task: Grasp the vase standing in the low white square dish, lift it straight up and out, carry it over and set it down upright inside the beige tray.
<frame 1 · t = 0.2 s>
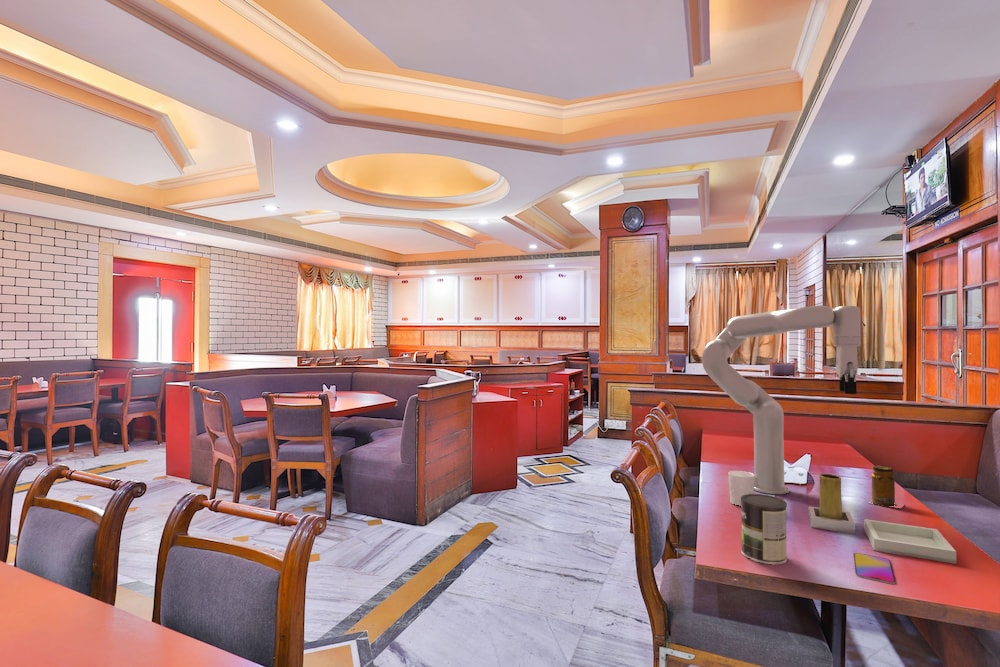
hand: (847, 392, 168), 36 cm above the table, tool pointing down, fingers open, 9 cm apart
white square dish: (830, 524, 145), on the table
coffee can: (764, 556, 125), on the table
white cup: (741, 504, 164), on the table
condiment: (886, 505, 163), on the table
smartphone: (873, 570, 118), on the table
beige tray: (906, 545, 131), on the table
vase: (830, 525, 145), resting in white square dish
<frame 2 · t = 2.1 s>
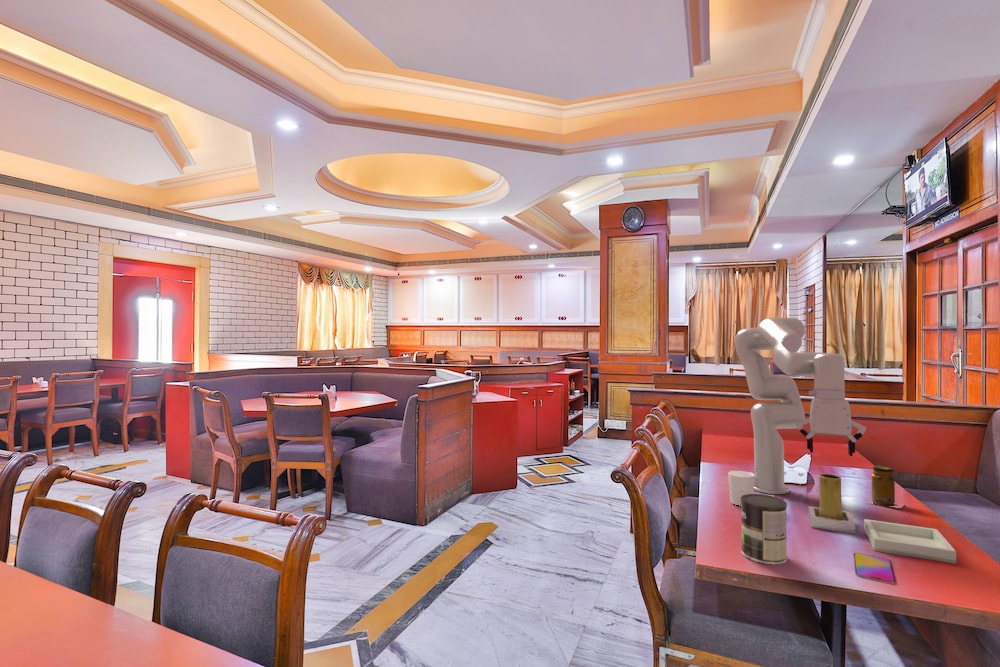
hand: (830, 453, 145), 21 cm above the table, tool pointing down, fingers open, 9 cm apart
nothing on the table moved.
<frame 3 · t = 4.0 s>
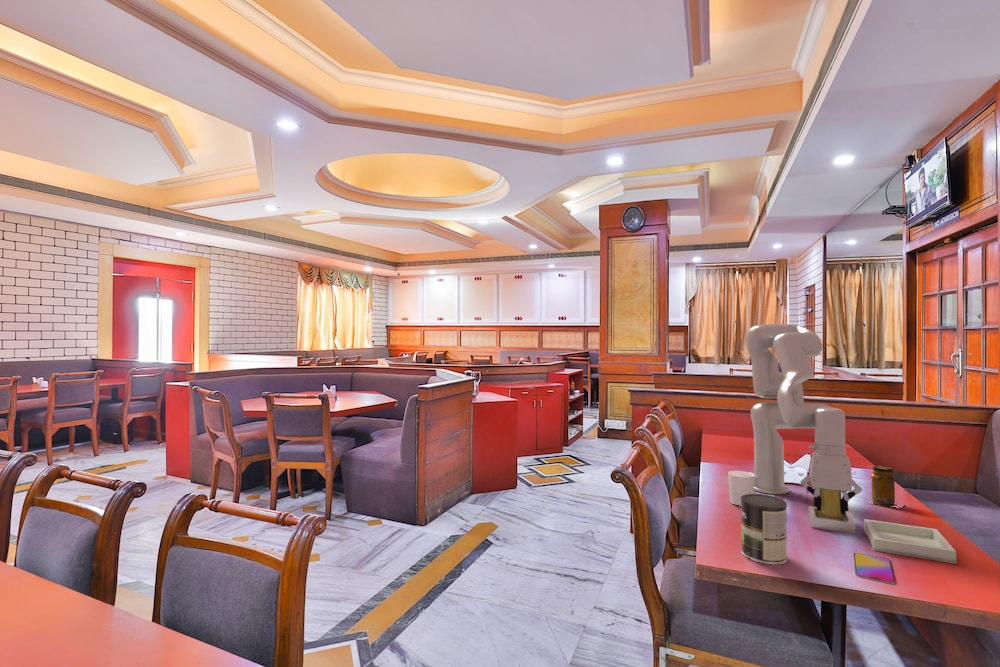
hand: (830, 510, 145), 4 cm above the table, tool pointing down, fingers closed on vase, 5 cm apart
vase: (830, 525, 145), resting in white square dish, touching gripper
everything else where it was.
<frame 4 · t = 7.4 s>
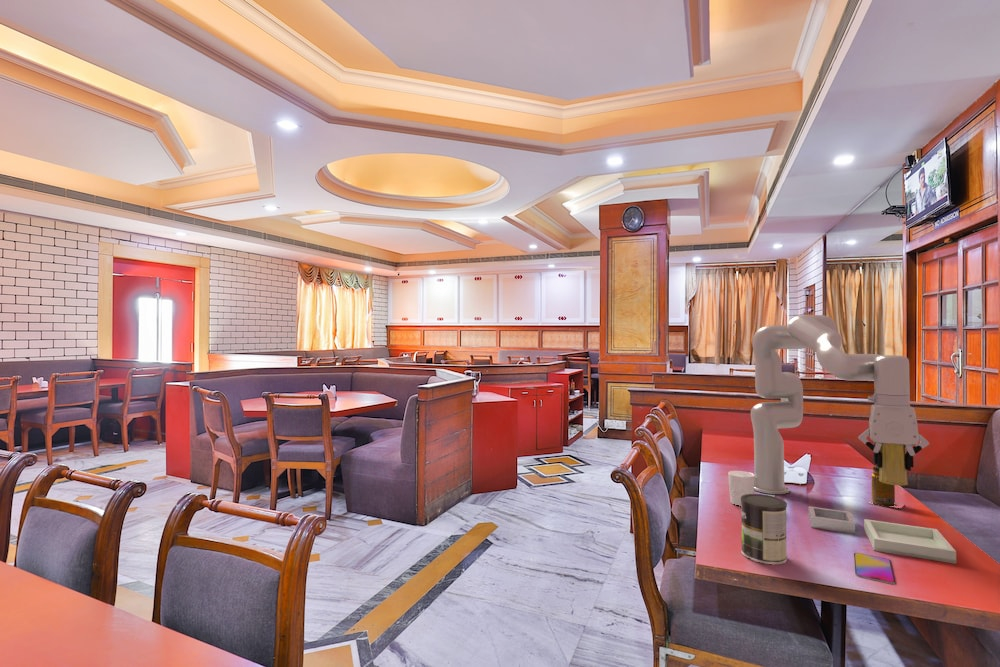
hand: (893, 467, 133), 20 cm above the table, tool pointing down, fingers closed on vase, 5 cm apart
vase: (893, 483, 133), point 16 cm above the table, touching gripper
everything else where it was.
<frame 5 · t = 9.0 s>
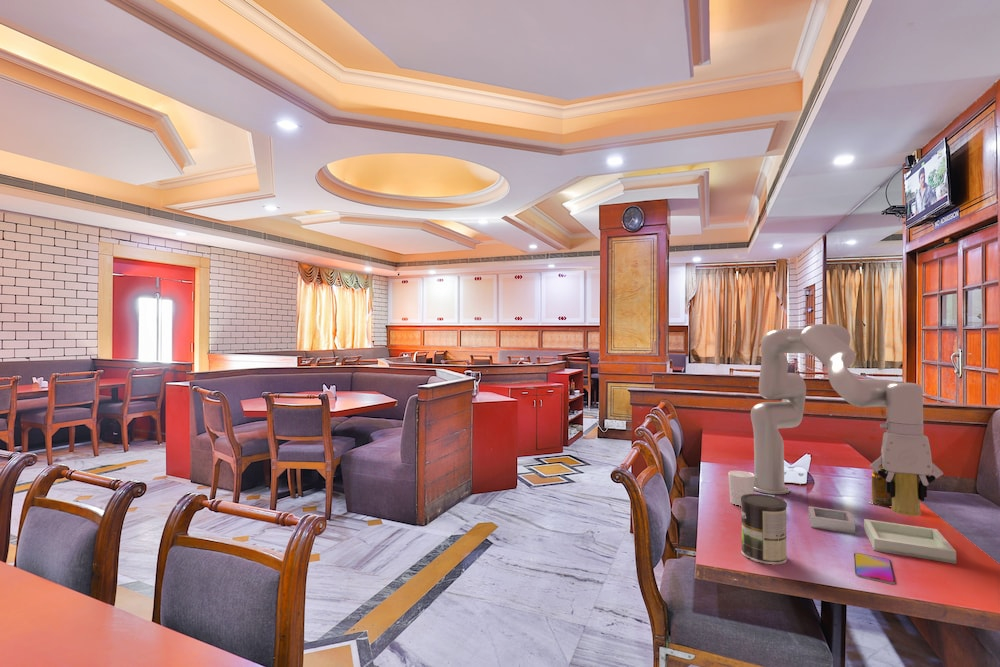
hand: (906, 497, 131), 13 cm above the table, tool pointing down, fingers closed on vase, 5 cm apart
vase: (905, 513, 131), point 9 cm above the table, touching gripper
everything else where it was.
when the fingers open (6 cm above the table, at t = 10.6 s): vase drops 1 cm, resting on beige tray.
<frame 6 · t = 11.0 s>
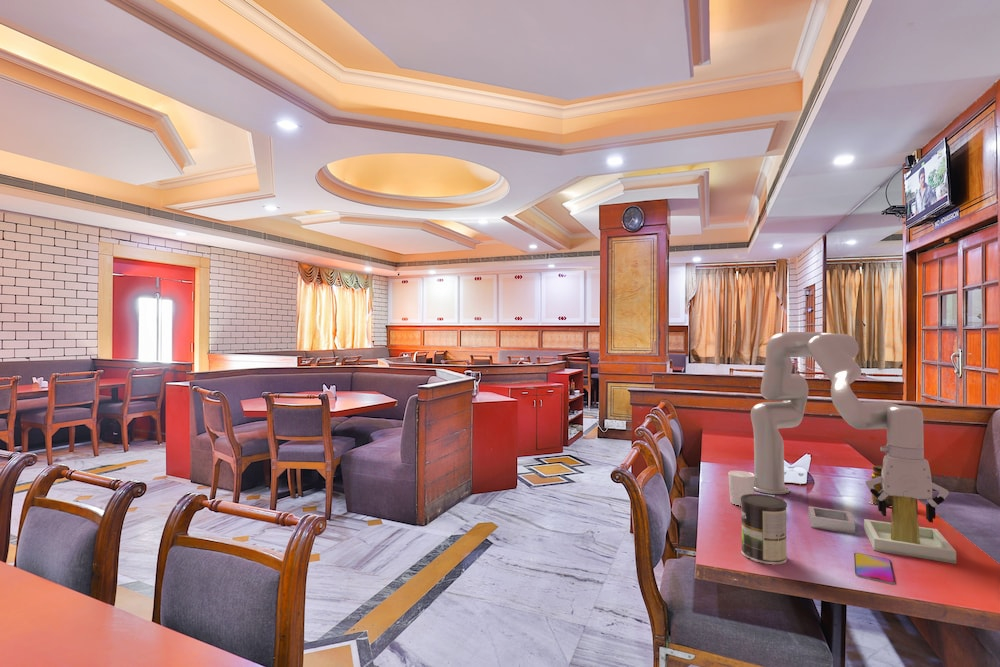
hand: (906, 517, 131), 7 cm above the table, tool pointing down, fingers open, 9 cm apart
vase: (905, 542, 131), point 1 cm above the table, touching beige tray
everything else where it was.
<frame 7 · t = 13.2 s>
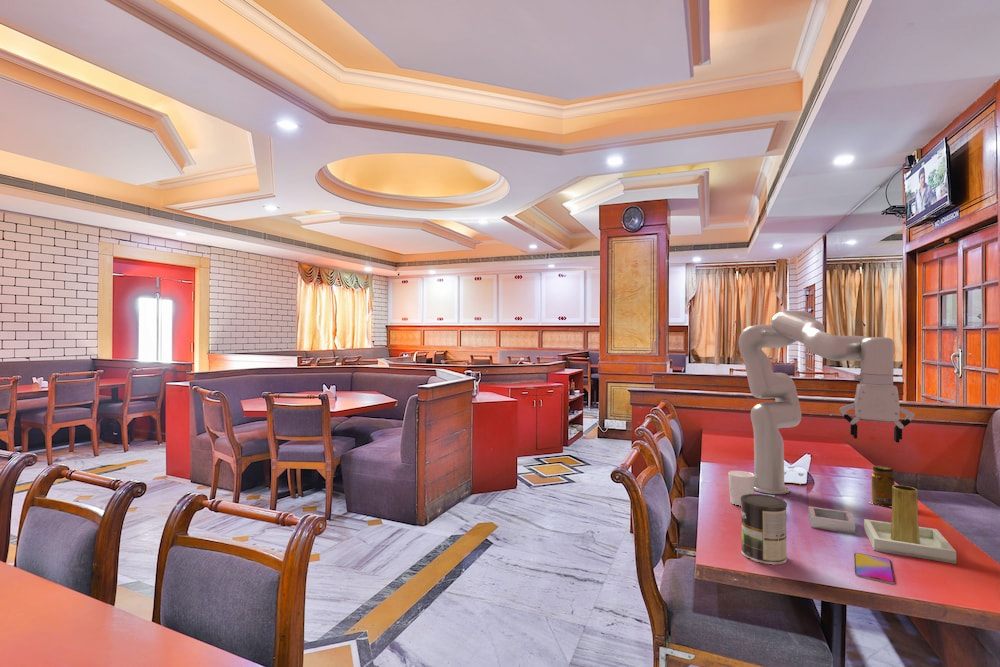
hand: (875, 439, 142), 26 cm above the table, tool pointing down, fingers open, 9 cm apart
nothing on the table moved.
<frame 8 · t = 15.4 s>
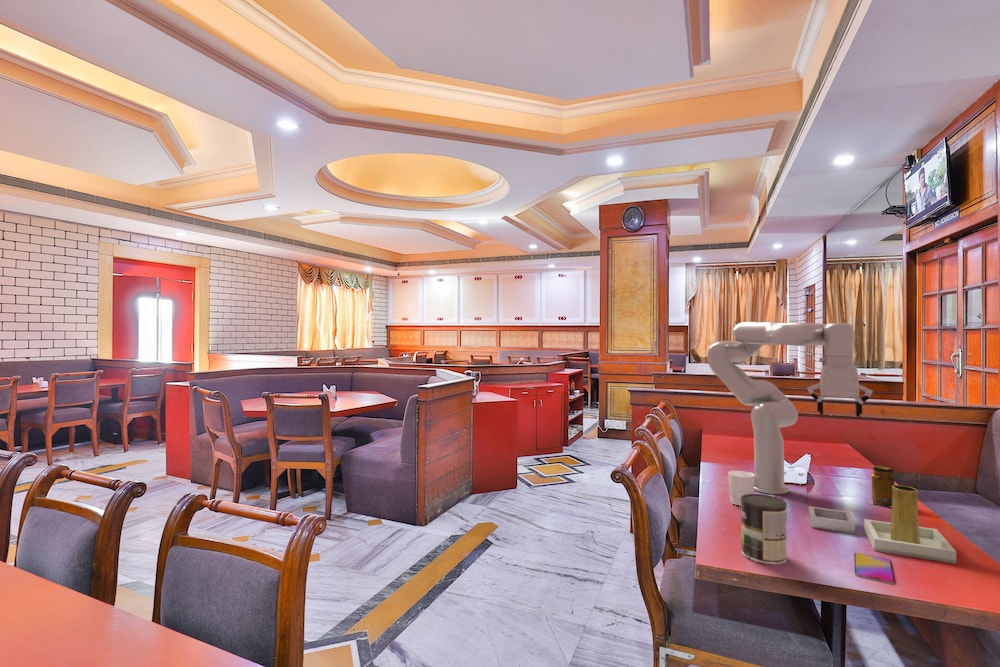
hand: (839, 415, 158), 30 cm above the table, tool pointing down, fingers open, 9 cm apart
nothing on the table moved.
at the end: vase inside the target area on the beige tray (0.4 cm from its centre), point 0.6 cm above the beige tray's base; vase tilted 0°; the gripper is holding nothing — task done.
